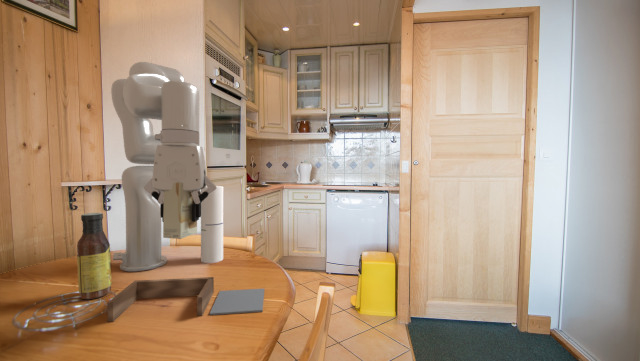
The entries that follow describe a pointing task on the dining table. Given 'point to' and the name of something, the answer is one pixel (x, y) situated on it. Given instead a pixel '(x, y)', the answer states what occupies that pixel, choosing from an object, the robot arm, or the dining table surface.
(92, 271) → the sauce bottle
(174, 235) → the skincare box
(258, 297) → the grey rubber mat
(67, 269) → the dining table surface
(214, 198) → the cylindrical container
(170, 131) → the robot arm
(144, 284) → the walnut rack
